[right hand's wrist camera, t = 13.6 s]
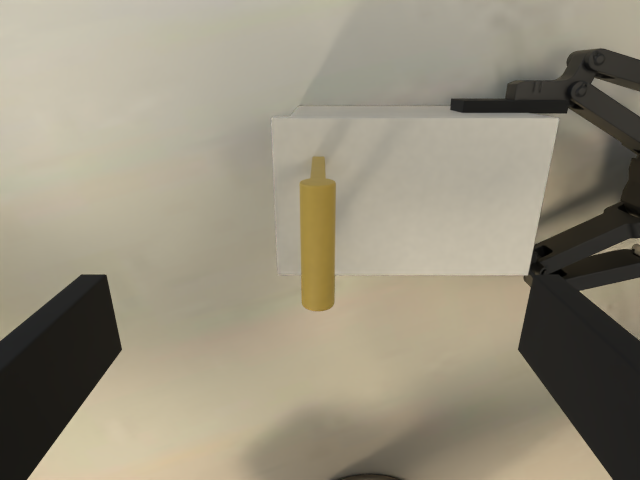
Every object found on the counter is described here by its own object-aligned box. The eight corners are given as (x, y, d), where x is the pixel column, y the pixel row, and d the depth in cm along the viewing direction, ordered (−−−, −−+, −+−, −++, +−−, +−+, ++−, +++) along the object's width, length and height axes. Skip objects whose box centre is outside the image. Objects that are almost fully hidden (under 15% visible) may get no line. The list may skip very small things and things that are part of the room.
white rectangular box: (279, 267, 27) (261, 348, 19) (273, 116, 24) (248, 135, 16) (519, 267, 27) (604, 348, 19) (548, 115, 24) (668, 135, 16)
